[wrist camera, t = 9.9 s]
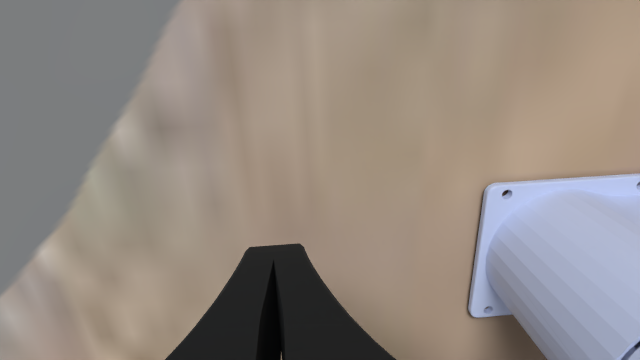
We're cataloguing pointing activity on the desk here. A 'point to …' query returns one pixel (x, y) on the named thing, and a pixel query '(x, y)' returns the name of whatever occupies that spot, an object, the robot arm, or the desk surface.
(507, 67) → the desk surface
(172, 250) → the desk surface
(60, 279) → the desk surface
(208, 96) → the desk surface
